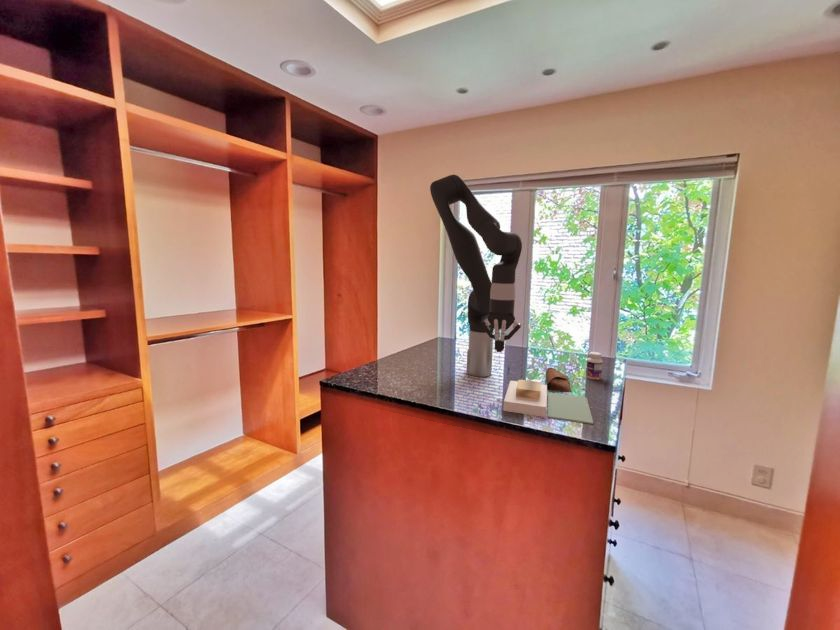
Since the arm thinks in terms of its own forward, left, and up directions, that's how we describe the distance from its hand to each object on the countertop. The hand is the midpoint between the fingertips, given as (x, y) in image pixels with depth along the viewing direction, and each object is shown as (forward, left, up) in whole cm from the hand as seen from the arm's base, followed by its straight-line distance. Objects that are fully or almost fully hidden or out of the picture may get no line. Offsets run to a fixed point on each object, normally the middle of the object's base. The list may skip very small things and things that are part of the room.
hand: (499, 351), depth 118 cm
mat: (+22, 0, -15) cm, 27 cm away
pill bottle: (+32, +35, -16) cm, 50 cm away
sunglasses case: (+19, +23, -16) cm, 34 cm away
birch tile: (+10, 0, -12) cm, 16 cm away
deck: (+9, 0, -15) cm, 18 cm away
